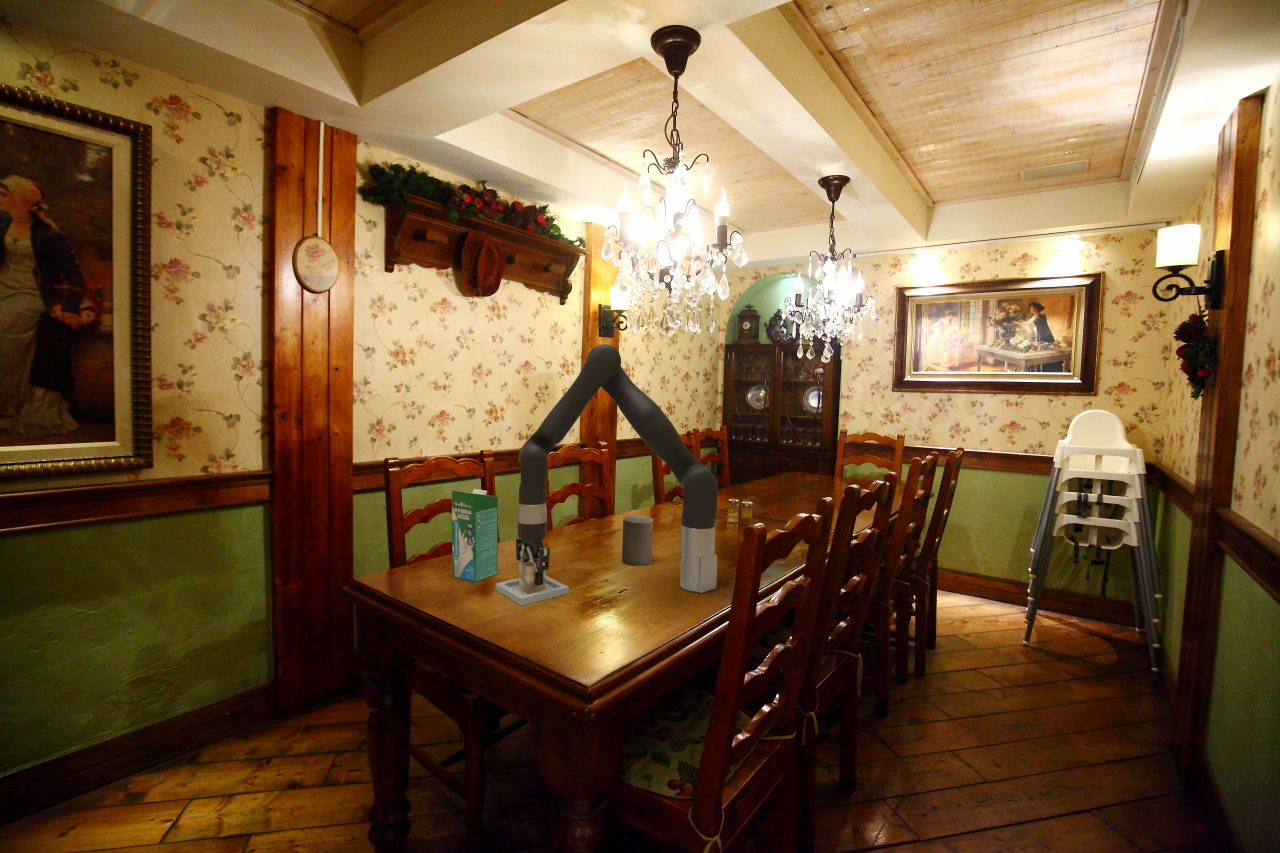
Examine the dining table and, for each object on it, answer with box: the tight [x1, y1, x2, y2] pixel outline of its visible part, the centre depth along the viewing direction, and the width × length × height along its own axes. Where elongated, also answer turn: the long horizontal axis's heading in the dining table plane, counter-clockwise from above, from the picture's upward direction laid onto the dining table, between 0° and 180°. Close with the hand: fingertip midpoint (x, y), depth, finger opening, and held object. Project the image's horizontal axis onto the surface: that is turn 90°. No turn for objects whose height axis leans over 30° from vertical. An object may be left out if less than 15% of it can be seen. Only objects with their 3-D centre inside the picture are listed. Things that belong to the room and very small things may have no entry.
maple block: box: [518, 560, 546, 594], centre depth 152 cm, size 5×5×7 cm
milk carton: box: [451, 488, 499, 583], centre depth 165 cm, size 9×9×25 cm
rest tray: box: [495, 574, 570, 606], centre depth 153 cm, size 14×14×2 cm
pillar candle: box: [621, 514, 654, 566], centre depth 181 cm, size 10×10×15 cm
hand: (532, 581), depth 152 cm, fingers open, 6 cm apart
